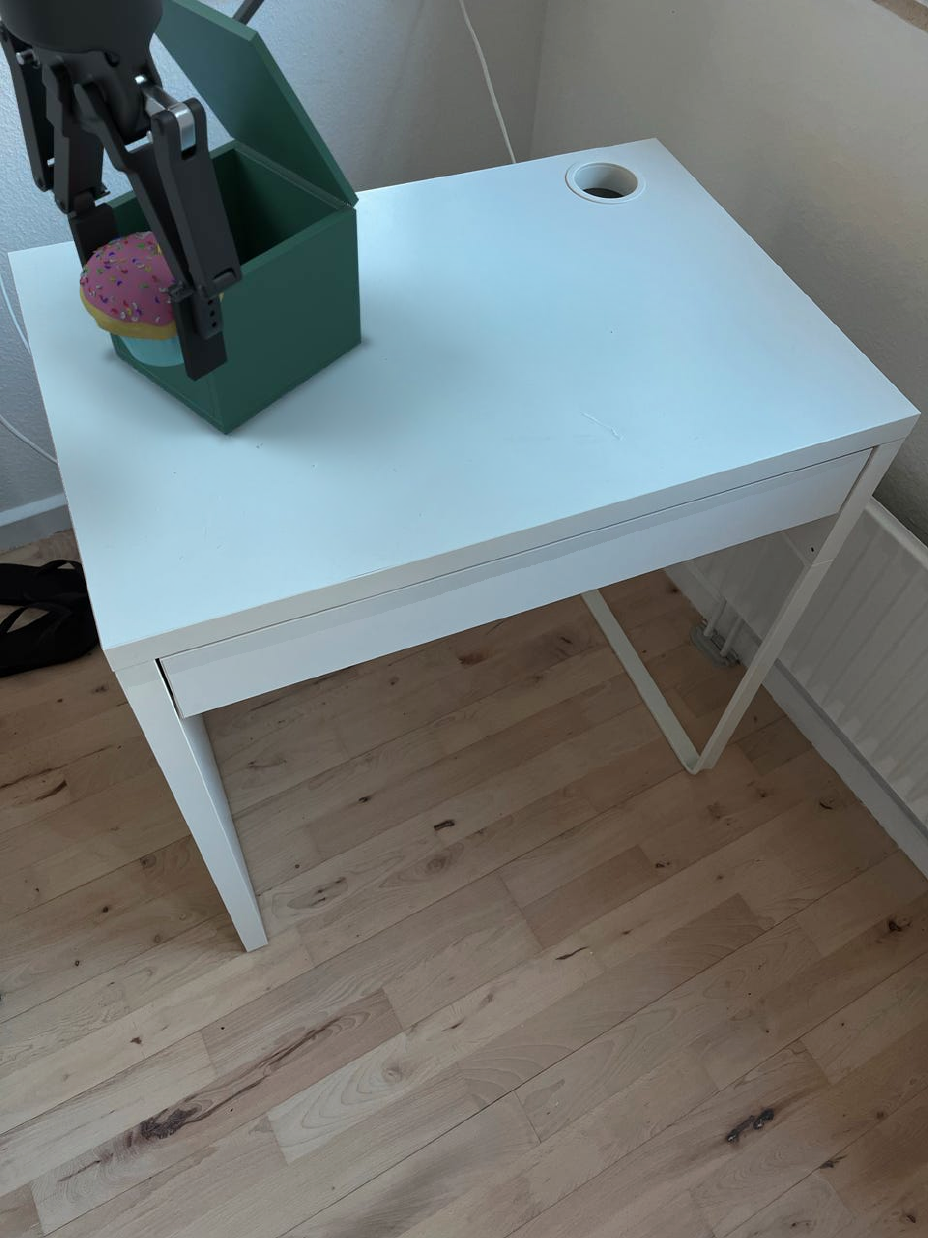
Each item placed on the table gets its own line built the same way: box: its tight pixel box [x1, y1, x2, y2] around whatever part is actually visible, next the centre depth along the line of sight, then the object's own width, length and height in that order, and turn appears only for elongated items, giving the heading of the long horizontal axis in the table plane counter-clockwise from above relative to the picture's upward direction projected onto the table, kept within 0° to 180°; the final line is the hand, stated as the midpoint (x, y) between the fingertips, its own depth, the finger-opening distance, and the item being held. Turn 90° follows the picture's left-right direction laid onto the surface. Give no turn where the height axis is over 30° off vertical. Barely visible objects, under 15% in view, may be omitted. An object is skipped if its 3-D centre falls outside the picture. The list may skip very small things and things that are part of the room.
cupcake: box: [79, 231, 223, 367], centre depth 57 cm, size 9×8×12 cm
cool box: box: [105, 138, 362, 435], centre depth 77 cm, size 16×14×13 cm
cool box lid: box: [154, 0, 360, 208], centre depth 67 cm, size 17×14×8 cm
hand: (160, 334), depth 61 cm, fingers closed on cupcake, 8 cm apart
